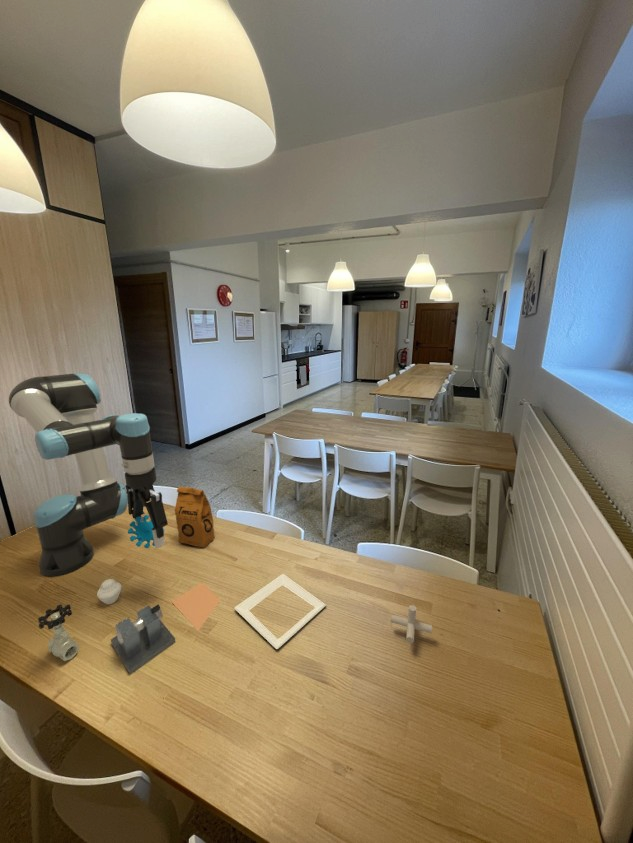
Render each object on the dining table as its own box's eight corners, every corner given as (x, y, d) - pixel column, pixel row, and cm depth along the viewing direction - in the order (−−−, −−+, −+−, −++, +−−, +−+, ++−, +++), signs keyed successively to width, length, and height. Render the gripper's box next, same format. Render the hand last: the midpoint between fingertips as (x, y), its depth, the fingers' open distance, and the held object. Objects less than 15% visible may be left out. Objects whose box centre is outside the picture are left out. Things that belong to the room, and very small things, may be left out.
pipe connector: (430, 628, 89) (433, 598, 86) (429, 662, 80) (433, 630, 77) (392, 618, 92) (394, 588, 89) (387, 650, 83) (390, 618, 80)
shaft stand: (111, 644, 84) (105, 618, 82) (155, 616, 92) (151, 592, 90) (130, 675, 77) (124, 647, 75) (175, 642, 85) (171, 616, 83)
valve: (57, 671, 78) (46, 630, 74) (42, 659, 80) (30, 620, 77) (86, 647, 83) (77, 609, 80) (71, 637, 86) (61, 600, 83)
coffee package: (202, 552, 119) (196, 497, 113) (175, 544, 123) (168, 491, 117) (219, 536, 128) (214, 485, 122) (193, 530, 132) (187, 480, 126)
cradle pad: (171, 602, 97) (171, 601, 97) (202, 583, 105) (202, 582, 104) (198, 631, 88) (198, 630, 88) (230, 608, 95) (230, 607, 95)
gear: (141, 552, 90) (122, 522, 91) (132, 562, 92) (114, 533, 94) (174, 533, 99) (156, 507, 101) (166, 543, 102) (148, 517, 104)
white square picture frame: (326, 610, 95) (326, 604, 94) (277, 655, 82) (276, 648, 81) (283, 578, 107) (282, 572, 107) (234, 613, 94) (233, 607, 93)
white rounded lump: (95, 610, 95) (90, 590, 93) (104, 594, 100) (100, 574, 98) (119, 606, 96) (115, 586, 94) (126, 590, 102) (122, 571, 100)
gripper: (105, 466, 93) (119, 536, 99) (149, 483, 83) (161, 560, 89) (132, 458, 99) (143, 524, 105) (175, 472, 89) (184, 545, 95)
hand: (151, 541), depth 97 cm, fingers closed on gear, 8 cm apart
